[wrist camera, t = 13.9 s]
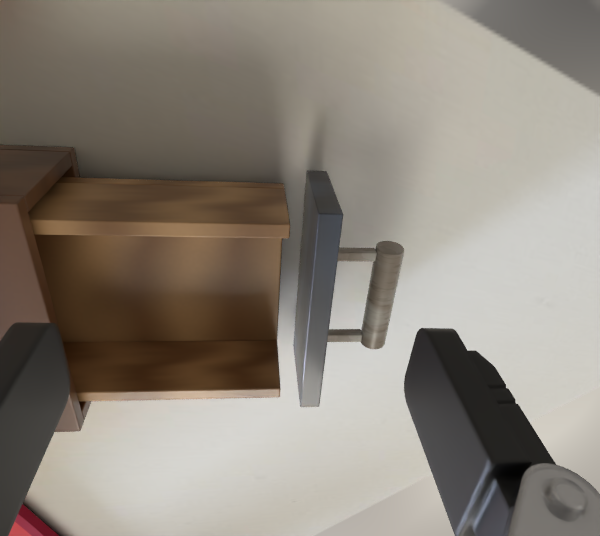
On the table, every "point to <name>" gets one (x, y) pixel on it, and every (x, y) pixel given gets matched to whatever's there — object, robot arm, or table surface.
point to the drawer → (196, 285)
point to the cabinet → (31, 247)
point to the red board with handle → (29, 525)
